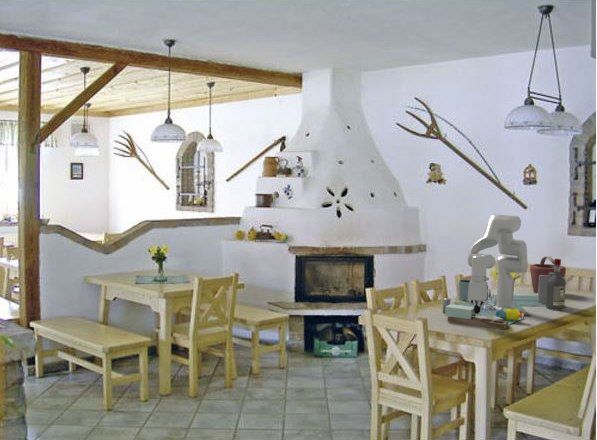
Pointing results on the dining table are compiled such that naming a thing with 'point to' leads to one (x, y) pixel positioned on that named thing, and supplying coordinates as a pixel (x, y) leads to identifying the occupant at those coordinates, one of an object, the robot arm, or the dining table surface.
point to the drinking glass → (463, 289)
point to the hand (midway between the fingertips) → (477, 313)
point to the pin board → (480, 322)
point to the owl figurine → (510, 314)
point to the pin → (445, 304)
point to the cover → (459, 311)
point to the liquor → (556, 289)
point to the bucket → (543, 271)
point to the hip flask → (543, 287)
